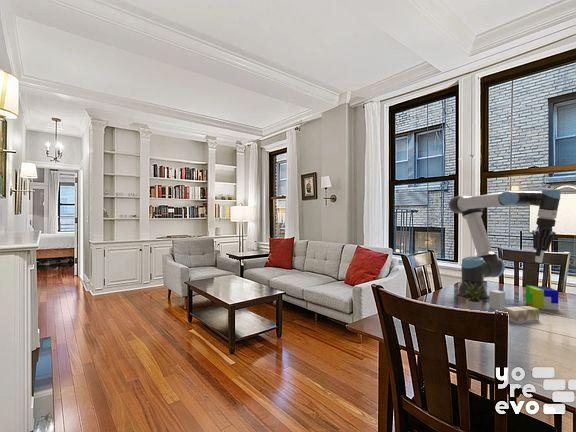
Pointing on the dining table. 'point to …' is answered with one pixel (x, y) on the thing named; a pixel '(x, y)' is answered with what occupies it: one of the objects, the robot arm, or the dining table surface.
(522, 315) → the maple block
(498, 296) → the grey block
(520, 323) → the felt mat
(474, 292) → the house plant
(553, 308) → the puzzle toy
